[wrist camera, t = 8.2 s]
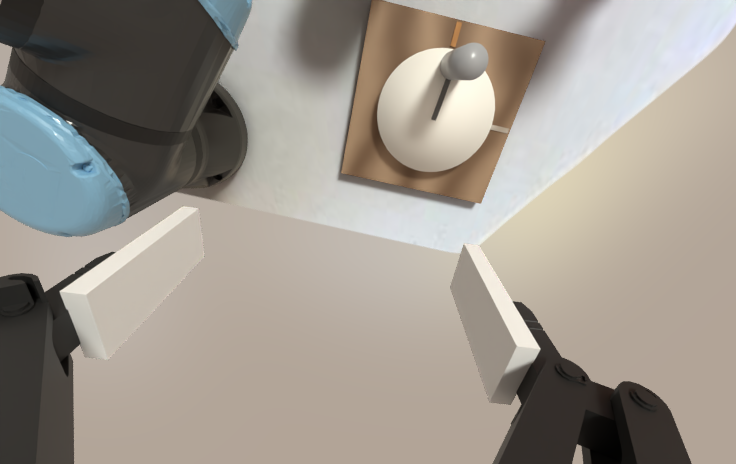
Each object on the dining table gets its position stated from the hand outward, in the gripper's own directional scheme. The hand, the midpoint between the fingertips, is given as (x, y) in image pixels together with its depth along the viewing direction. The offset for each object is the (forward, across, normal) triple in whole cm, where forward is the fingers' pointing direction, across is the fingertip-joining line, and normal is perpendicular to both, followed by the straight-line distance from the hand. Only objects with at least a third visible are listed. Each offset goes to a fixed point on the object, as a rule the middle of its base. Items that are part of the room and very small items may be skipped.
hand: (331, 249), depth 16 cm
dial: (+28, -9, -5) cm, 30 cm away
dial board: (+30, -9, -5) cm, 31 cm away
